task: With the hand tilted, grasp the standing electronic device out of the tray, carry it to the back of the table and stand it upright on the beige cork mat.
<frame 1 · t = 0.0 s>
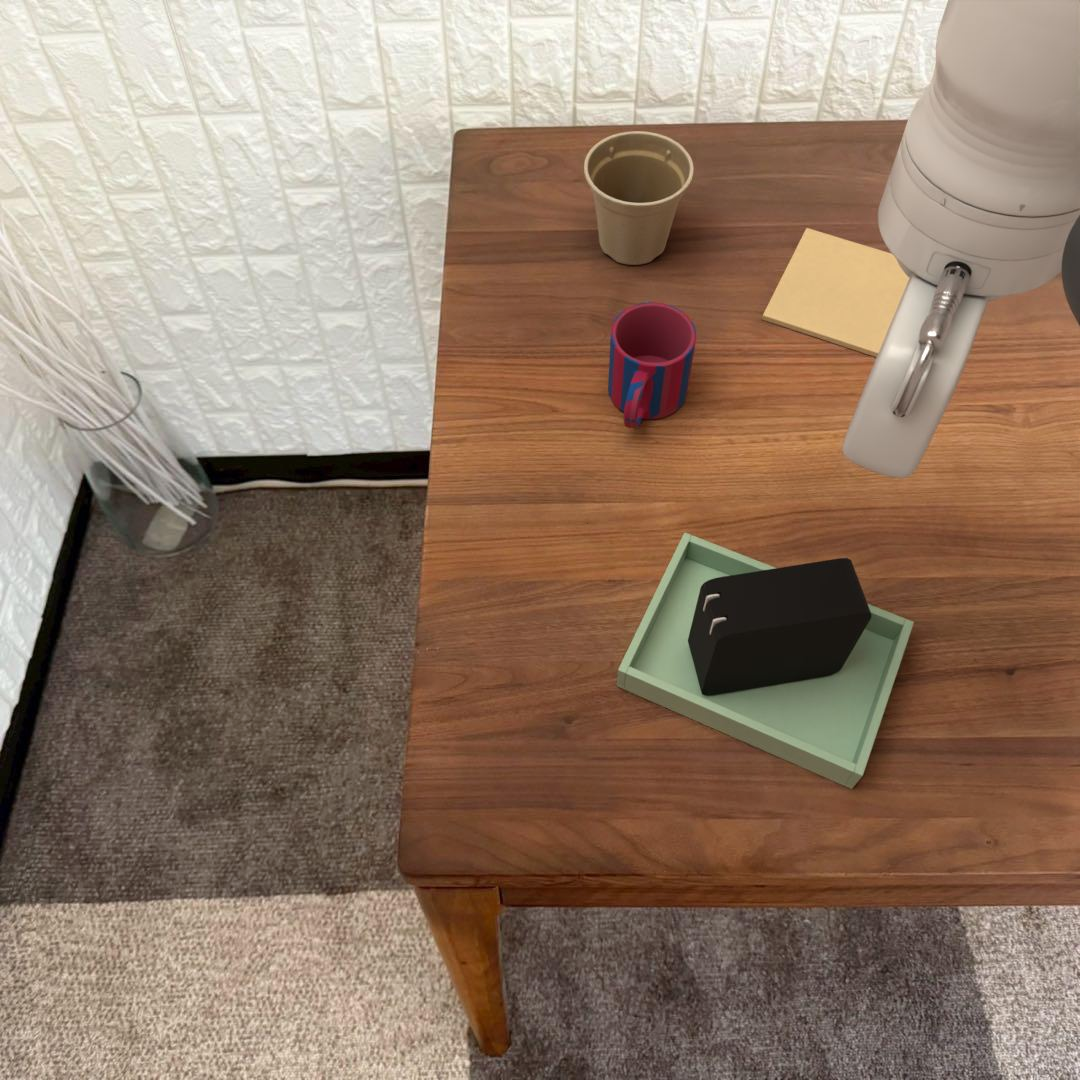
hand: (899, 393, 58), 21 cm above the table, tool pointing down, fingers open, 8 cm apart
flower pot: (632, 244, 94), on the table
cork mat: (859, 298, 90), on the table
tray: (760, 662, 72), on the table
mug: (640, 404, 85), on the table
electronic device: (761, 661, 72), resting on tray
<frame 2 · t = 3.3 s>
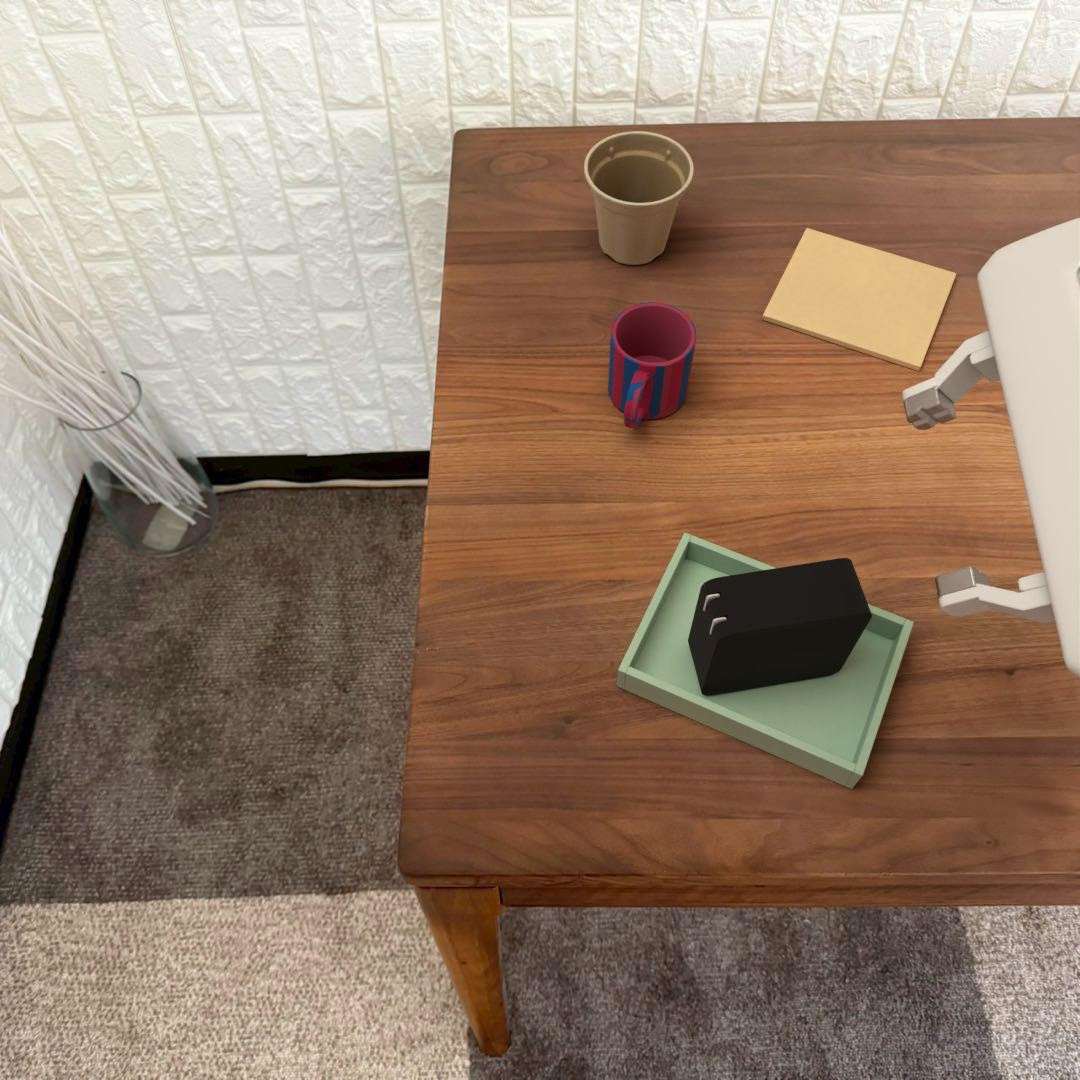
hand: (925, 501, 46), 28 cm above the table, tool tilted 45°, fingers open, 8 cm apart
nothing on the table moved.
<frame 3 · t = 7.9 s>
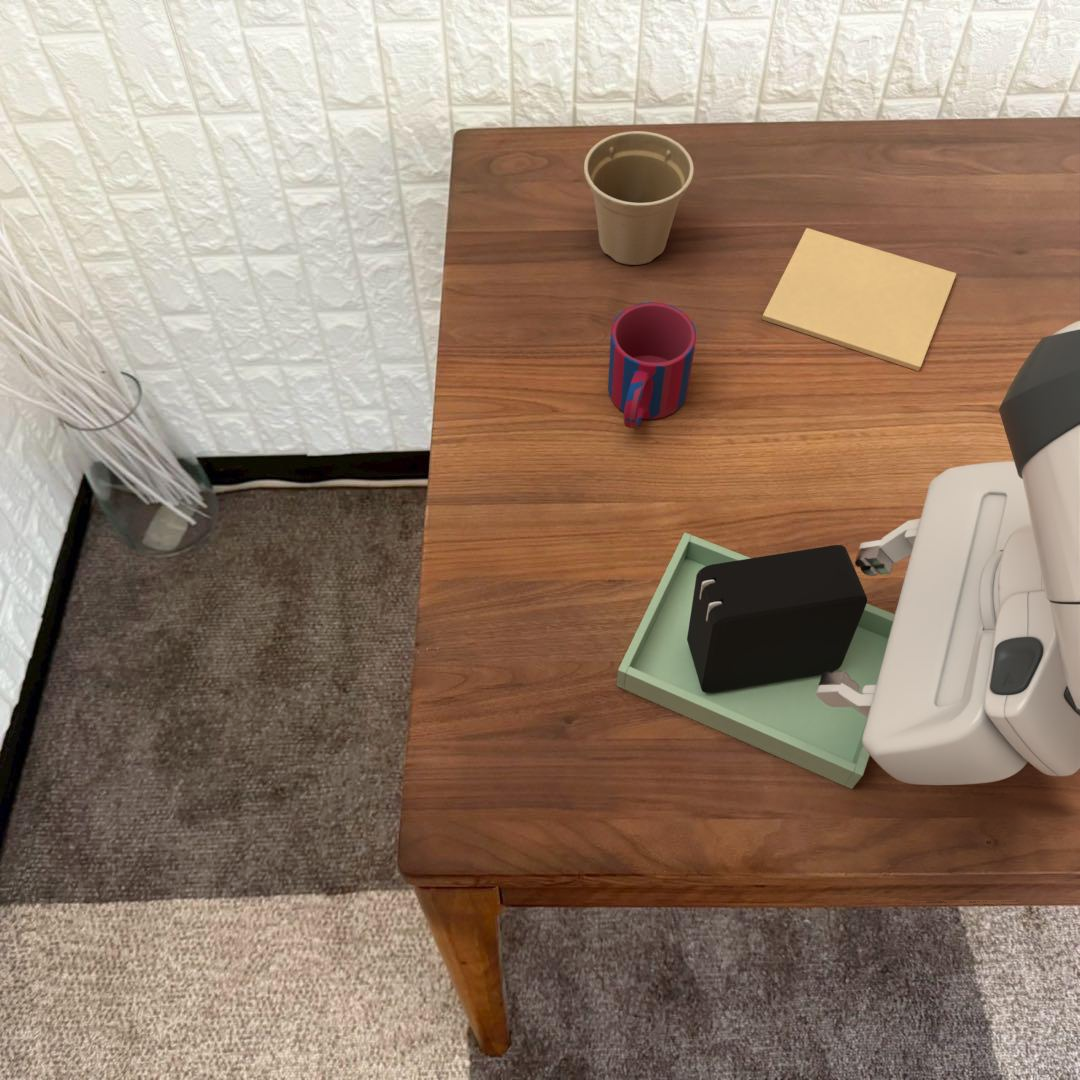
hand: (843, 622, 64), 9 cm above the table, tool tilted 45°, fingers open, 8 cm apart
electronic device: (761, 660, 72), resting on tray, touching gripper
everything else where it was.
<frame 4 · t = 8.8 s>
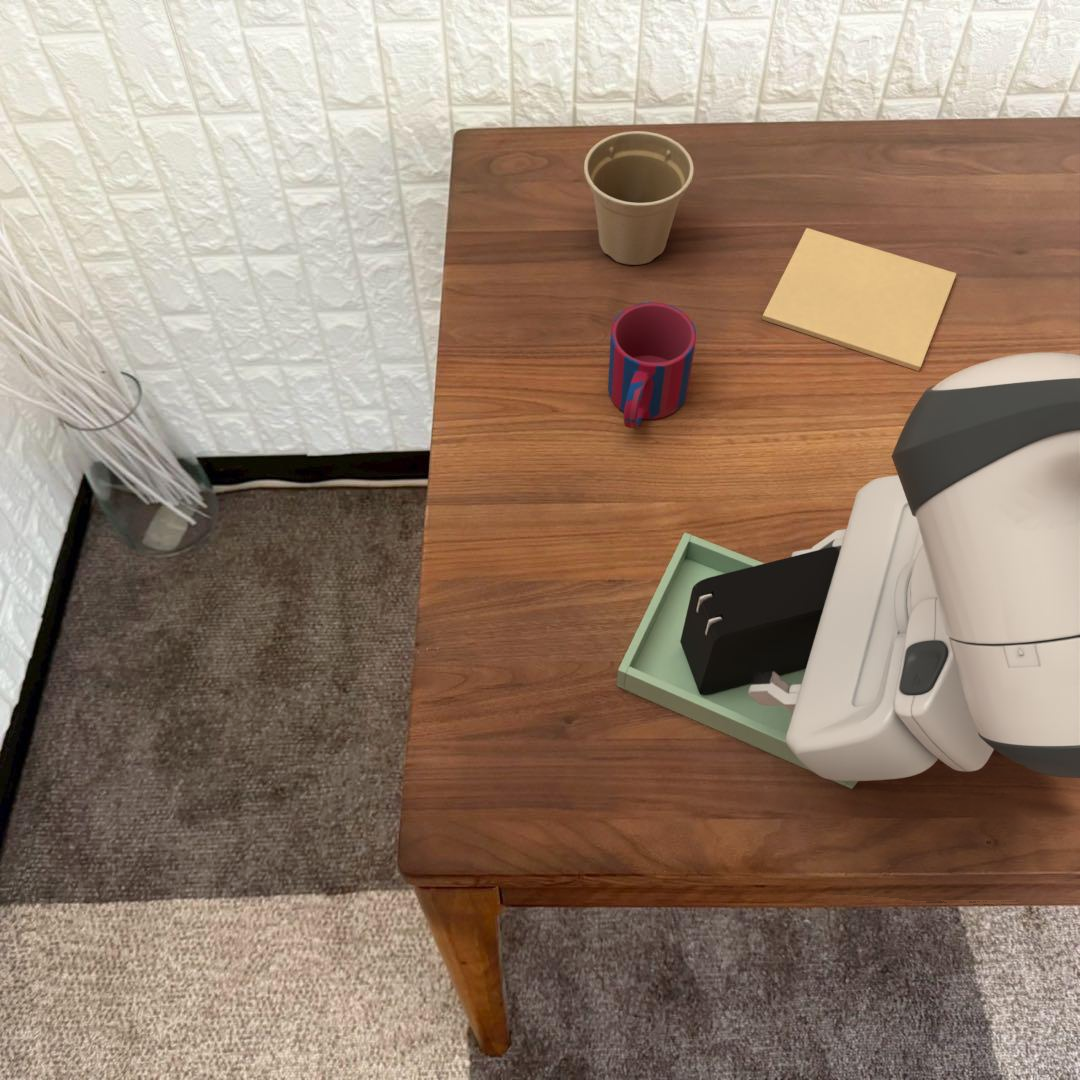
hand: (775, 626, 67), 6 cm above the table, tool tilted 45°, fingers open, 8 cm apart
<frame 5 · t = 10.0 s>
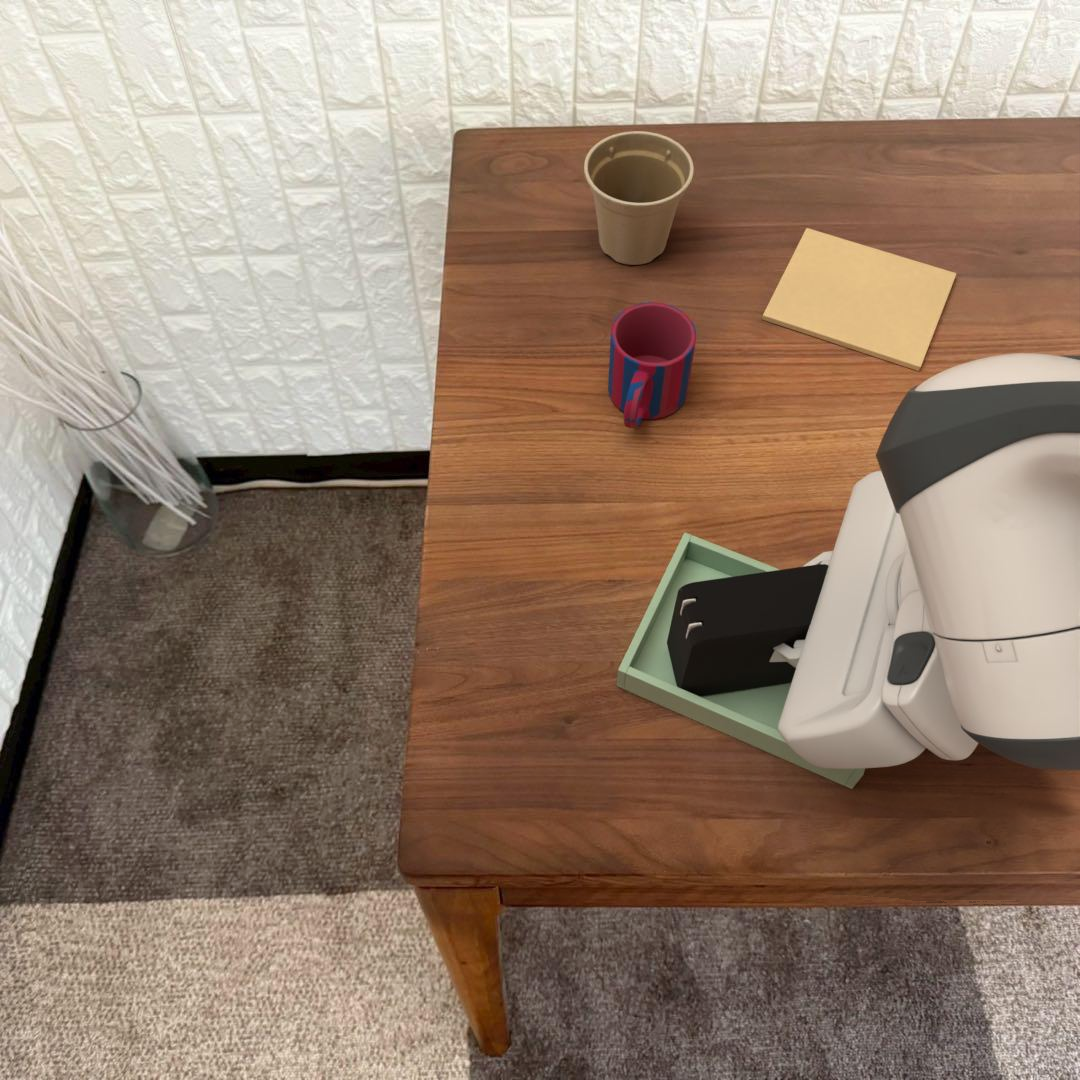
hand: (771, 617, 68), 6 cm above the table, tool tilted 45°, fingers closed on electronic device, 3 cm apart
electronic device: (740, 664, 72), resting on tray, touching gripper
everything else where it was.
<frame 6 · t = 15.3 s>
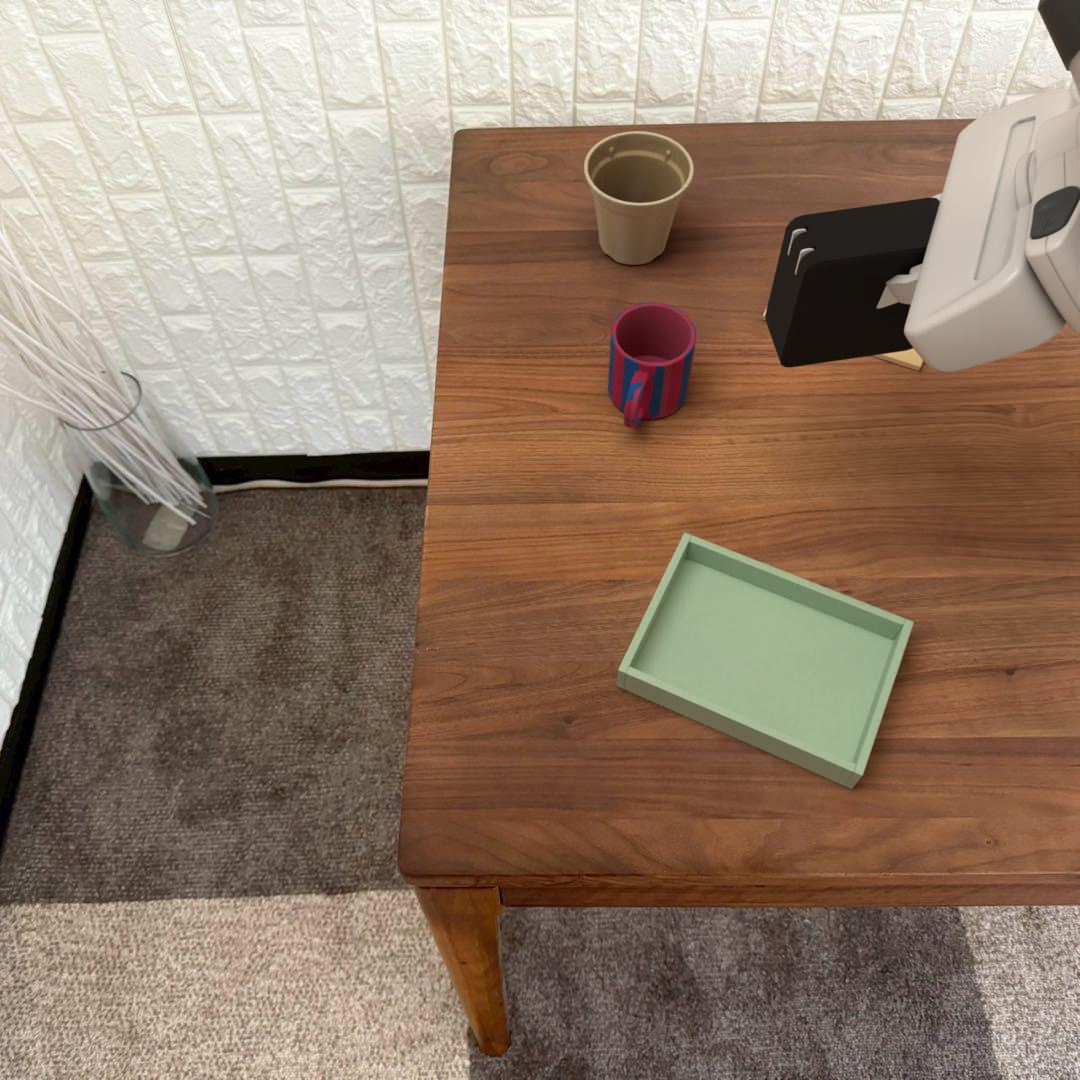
hand: (877, 270, 67), 18 cm above the table, tool tilted 45°, fingers closed on electronic device, 3 cm apart
electronic device: (839, 338, 71), point 13 cm above the table, touching gripper
everything else where it was.
when the fingers open (6 cm above the table, at t = 21.0 s): electronic device stays where it is, resting on cork mat.
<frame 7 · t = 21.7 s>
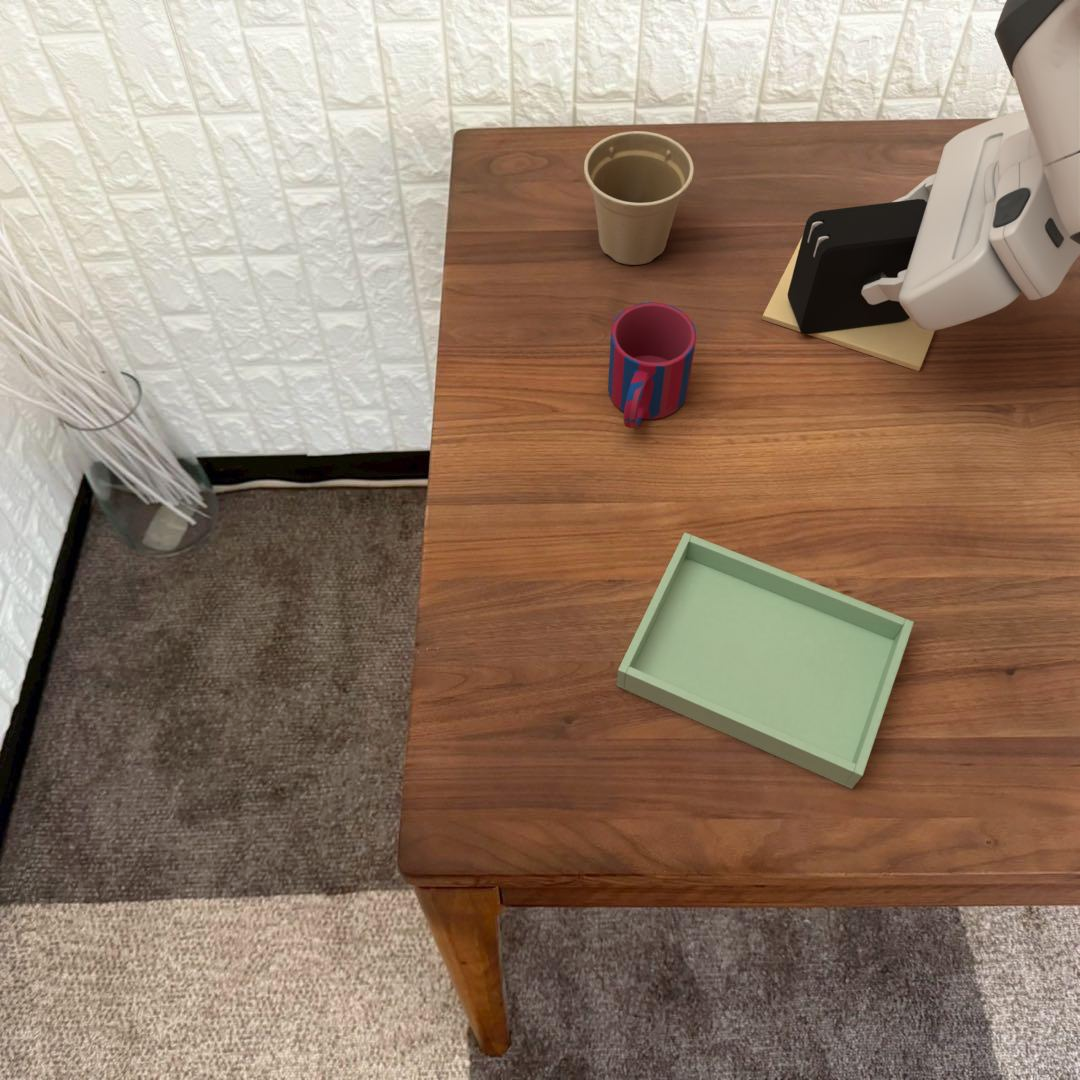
hand: (879, 253, 84), 6 cm above the table, tool tilted 45°, fingers open, 8 cm apart
electronic device: (846, 312, 89), resting on cork mat
everything else where it was.
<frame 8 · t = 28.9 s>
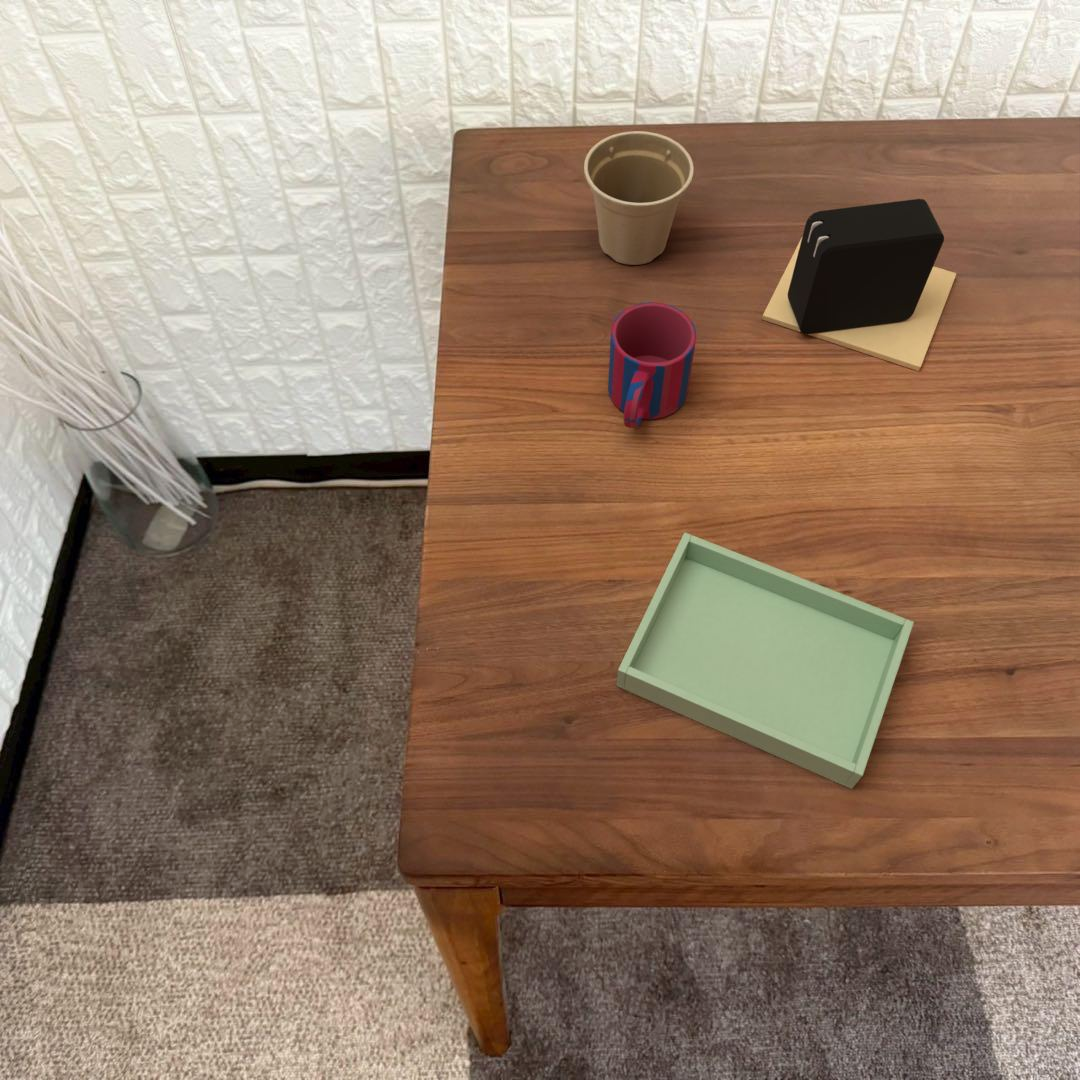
nothing on the table moved.
at the end: electronic device inside the target area on the cork mat (2.5 cm from its centre), point 0.4 cm above the cork mat's base; electronic device tilted 0°; electronic device touching cork mat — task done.
